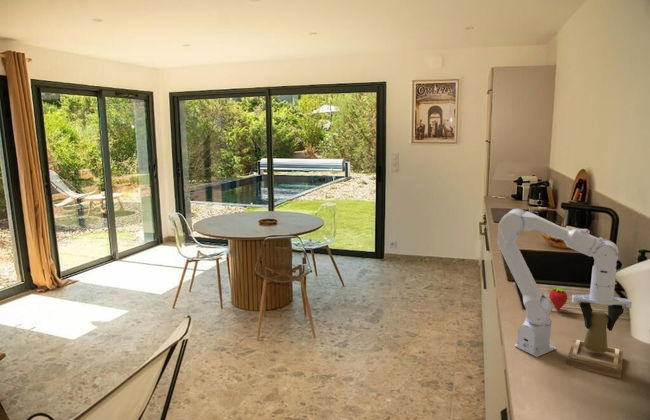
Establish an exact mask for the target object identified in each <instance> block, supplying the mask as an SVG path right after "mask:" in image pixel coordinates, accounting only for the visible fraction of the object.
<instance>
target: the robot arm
mask: <svg viewBox="0 0 650 420" xmlns="http://www.w3.org/2000/svg"><path fill="white" fill-rule="evenodd" d="M497 228H498V230H497V235H496V236H497V238H496V243H497V246H498V249H499V250H500V252H501V255H502V257H503V258H504V259H503V260H504V261H505V262H506V265H507V267H508V268H509V271H510V273H511V275H512V277H513V279H514V281H515V283H516V285H517V286H518V288H519V291H520V293H521V295H522V301H523V306H524V308H525V319H524V322H523V323H522V324H521V325H519V326H518V330H517V341H516V343H515V344H514V347H515V348H517V349H519V350H522V351H523V352H526V353H528V354H530V355H532V356H534V357H536V358H538V357H540V356H542V355H545V354H547V353H550V352H552V351H555V350H556V349H557V348H556V346H553V345H552V344H551V336H552V335H551V334H552V319H551V317H550V314H551V312H552V311H553V307H554V305H553V303H552V302H551V300H550V298H549V297H547V296H546V295H545V293H544V292H543V290H542V289H540V288H539V286H538V285H537V282H536V281H535V278H534V277H533V274H532V272H531V270H530V268H529V267H528V265H527V262H526V260H525V258H524V257H523V254H522V252H521V250H520V248H519V246H518V244H517V242H516V241H517V239H518V236H519V234H520V232H521V231H522V229H523V232H530V231H539V232H541V233H543V234H546V235H549V236H551V237H554V238H557V239H559V240H562V241H563V242H564V244H565V246H566V247H567V248H568V249H569V248H570V249H572V250H574V251H576V252H579V253H581V254H583V255H586V256H588V257H593V260H594V261H593V265H592V269H591V278H590V279H591V280H590V289H589V294H572V295H571V302H572V303H573V304H575V305H577V304H578V305H579V307H580V310H581V313H582V317H583V321H584V327H585V328H586V329H587V330H588V329H590V318H591V314H592V311H594V310H593V308H592V305H597V306H598V305H599V306H607V315H608V317H609V322H608V324H607V325H606V329H607V330H608V331H610V332H612V331H613V328H614V326H615V324H616V322H617V321H618V319H619V318H620V317H621V316H622V315H623V314H624V308H626V309H632V305H633V304H632V300H630V299H629V298H622V297H617V296H615V295H614V294H615V288H616V287H615V286H616V278H617V262H618V260H619V258H620V257H619V248H618V246H617V244H616V243H614V242H613V241H612V240H610V239H604V237H601V236H599V237H597V236H594V235H592V234H590V233H587V231H586V229H583V228H580V229H578V228H574V229H571V230H570V229H567V228H565V227H563V226H560V225H558V224H556V223H554V222H552V221H550V220H547V219H546V218H544V217H541V216H539V215H537V214H535V213H533V212H531V211H525V210H523V209H521V208H519V207H518V208H513V209H511V210H509V211H508V212H507V213H506V214H504V215H503V216H502V217H501V219H500V220H499V223H498V224H497Z"/></svg>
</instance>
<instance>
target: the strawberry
mask: <svg viewBox="0 0 650 420" xmlns="http://www.w3.org/2000/svg"><path fill="white" fill-rule="evenodd" d="M549 289H550V291H549V294H548V295H549V300H550V301H551V302H552V305H553V307H554V308H555V309H556V310H557V311H559V310H561V308H563V307H564V305H565V304H566V303H567V302H568V301H567V300H568V294H567V292H566V289H565V288H560V286H558V287H557V288H555V287H550V288H549Z"/></svg>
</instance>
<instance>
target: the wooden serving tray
mask: <svg viewBox="0 0 650 420" xmlns="http://www.w3.org/2000/svg"><path fill="white" fill-rule="evenodd" d="M584 341H585V340H581V339H576V340H574V339H573V340H572V343H571V346H570V348H569V352H568V355H567V360H566V365H567V366H571V367H574V368H579V369H583V370H586V371H590V372H594V373H598V374H602V375H607V376H609V377H613V376H614V377H613V378H617V377H618V379H620V378H621V377H622V371H623V370H622V369H623V360H624V359H623V358H624V351H621V350H620V349H619V348H616V347H612V346H608V345H607V351H606V352H604V353H598V352H593V351H590V350H588V349H586V348H585V347H584Z"/></svg>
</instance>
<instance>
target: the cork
mask: <svg viewBox="0 0 650 420" xmlns="http://www.w3.org/2000/svg"><path fill="white" fill-rule="evenodd" d="M608 322H609V317H608V313H606V312H604V311H601V310H592V314H591V318H590V329H587V330H586V335H585V338H584V340H583V341H584V347H585V348H586V349H588V350H590V351H593V352H598V353H604V352H606V351H607V346H608V336H607V335H608V333H607V324H608Z"/></svg>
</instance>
